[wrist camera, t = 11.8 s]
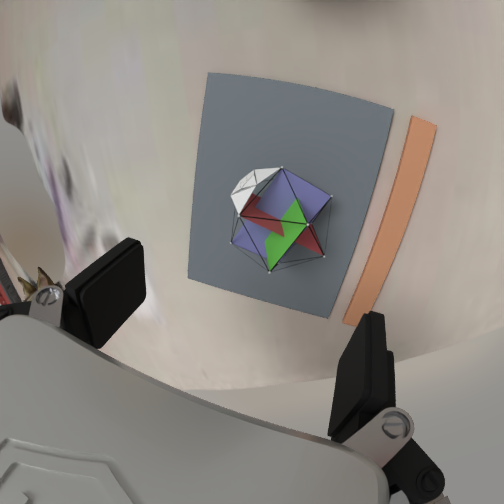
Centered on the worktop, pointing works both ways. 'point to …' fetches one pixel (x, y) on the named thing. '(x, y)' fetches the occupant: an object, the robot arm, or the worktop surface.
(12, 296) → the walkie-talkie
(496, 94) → the worktop surface
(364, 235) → the worktop surface
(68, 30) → the worktop surface
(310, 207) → the geometric puzzle
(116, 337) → the worktop surface
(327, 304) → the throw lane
